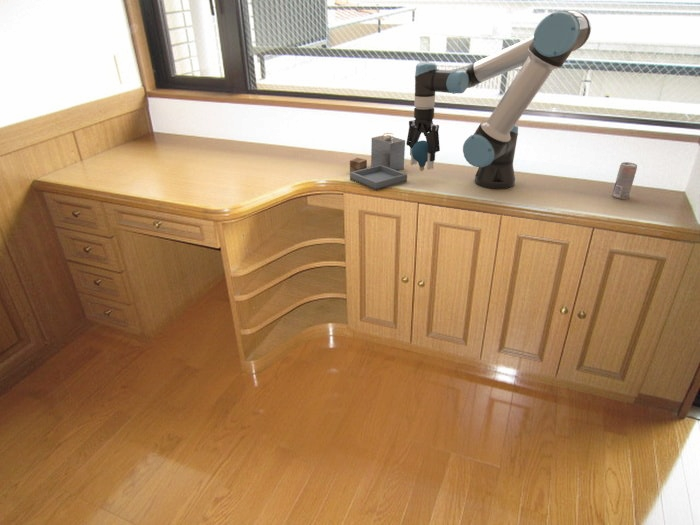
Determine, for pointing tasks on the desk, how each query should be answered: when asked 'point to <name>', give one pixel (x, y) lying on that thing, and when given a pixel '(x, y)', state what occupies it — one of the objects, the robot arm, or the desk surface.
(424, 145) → the light bulb
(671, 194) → the desk surface
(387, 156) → the block
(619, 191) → the energy drink
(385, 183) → the tray
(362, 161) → the walnut block
